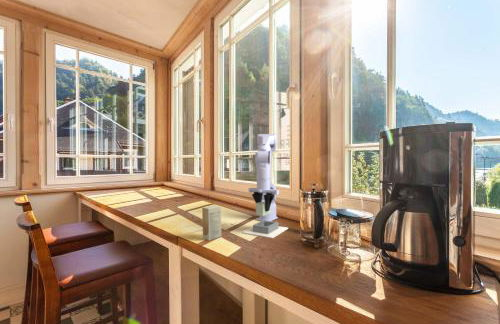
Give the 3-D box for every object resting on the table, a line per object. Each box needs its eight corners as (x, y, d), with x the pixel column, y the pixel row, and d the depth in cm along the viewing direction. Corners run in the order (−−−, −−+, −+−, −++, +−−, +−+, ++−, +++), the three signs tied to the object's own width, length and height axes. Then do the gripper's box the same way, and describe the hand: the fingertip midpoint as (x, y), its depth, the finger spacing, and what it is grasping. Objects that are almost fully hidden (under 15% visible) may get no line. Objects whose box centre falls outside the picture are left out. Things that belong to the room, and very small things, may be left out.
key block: (255, 214, 107) (255, 203, 107) (263, 212, 112) (263, 201, 112) (262, 215, 105) (262, 203, 105) (270, 213, 110) (270, 201, 110)
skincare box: (215, 234, 103) (215, 204, 103) (221, 237, 100) (221, 206, 100) (201, 238, 98) (201, 207, 98) (208, 240, 95) (208, 208, 95)
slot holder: (260, 224, 119) (260, 218, 118) (288, 228, 111) (288, 221, 111) (242, 233, 105) (242, 225, 105) (272, 238, 98) (272, 230, 98)
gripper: (244, 178, 110) (244, 209, 110) (272, 180, 101) (272, 214, 101) (253, 177, 115) (253, 207, 116) (281, 179, 107) (281, 211, 107)
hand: (263, 210), depth 109 cm, fingers closed on key block, 4 cm apart
